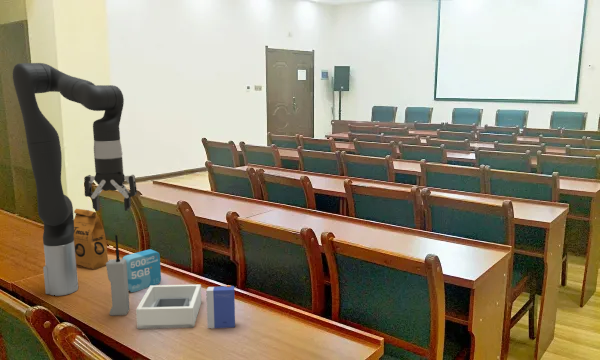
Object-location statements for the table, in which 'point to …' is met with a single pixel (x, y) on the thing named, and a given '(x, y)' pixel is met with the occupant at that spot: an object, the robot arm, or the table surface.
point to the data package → (143, 269)
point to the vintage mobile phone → (118, 284)
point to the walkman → (220, 307)
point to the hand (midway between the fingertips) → (112, 210)
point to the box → (169, 306)
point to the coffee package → (89, 240)
